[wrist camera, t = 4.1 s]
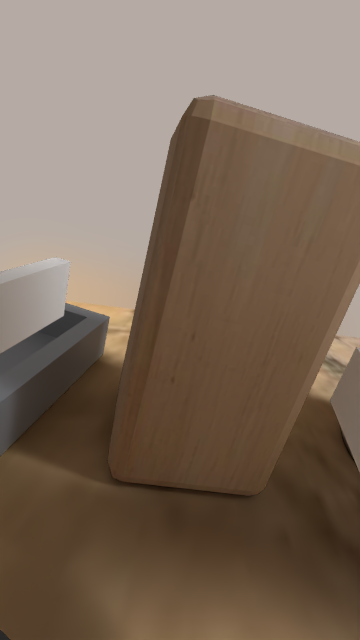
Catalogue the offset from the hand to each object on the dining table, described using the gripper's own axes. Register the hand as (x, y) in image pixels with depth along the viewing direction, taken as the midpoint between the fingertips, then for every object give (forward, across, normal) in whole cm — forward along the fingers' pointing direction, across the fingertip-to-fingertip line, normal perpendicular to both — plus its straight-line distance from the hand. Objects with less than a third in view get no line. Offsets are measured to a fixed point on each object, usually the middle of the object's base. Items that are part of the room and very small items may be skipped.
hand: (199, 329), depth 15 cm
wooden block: (+6, +1, -11) cm, 13 cm away
